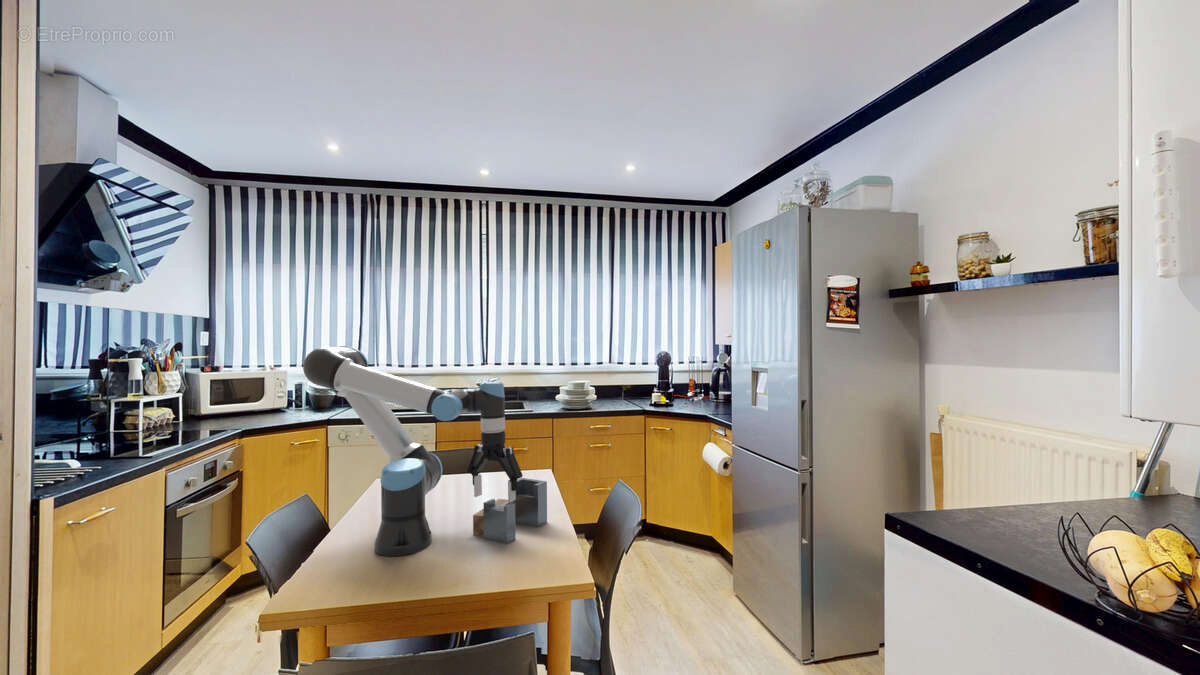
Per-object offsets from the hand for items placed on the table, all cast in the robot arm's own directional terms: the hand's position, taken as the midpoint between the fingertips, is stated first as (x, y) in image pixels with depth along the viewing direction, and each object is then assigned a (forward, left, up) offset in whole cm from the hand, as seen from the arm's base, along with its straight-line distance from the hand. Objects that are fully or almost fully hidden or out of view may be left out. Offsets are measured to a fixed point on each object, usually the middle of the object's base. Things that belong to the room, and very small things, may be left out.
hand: (494, 498), depth 153 cm
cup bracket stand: (+8, 0, -9) cm, 12 cm away
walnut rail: (0, 0, -9) cm, 9 cm away
